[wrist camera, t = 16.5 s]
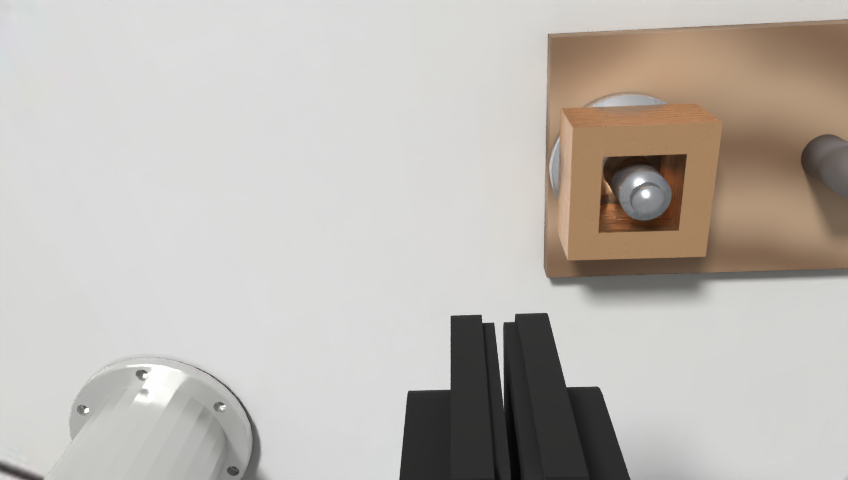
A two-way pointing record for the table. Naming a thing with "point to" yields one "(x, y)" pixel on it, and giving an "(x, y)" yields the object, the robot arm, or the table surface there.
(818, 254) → the walnut board
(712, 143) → the wooden square washer
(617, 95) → the steel hub
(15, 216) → the table surface
